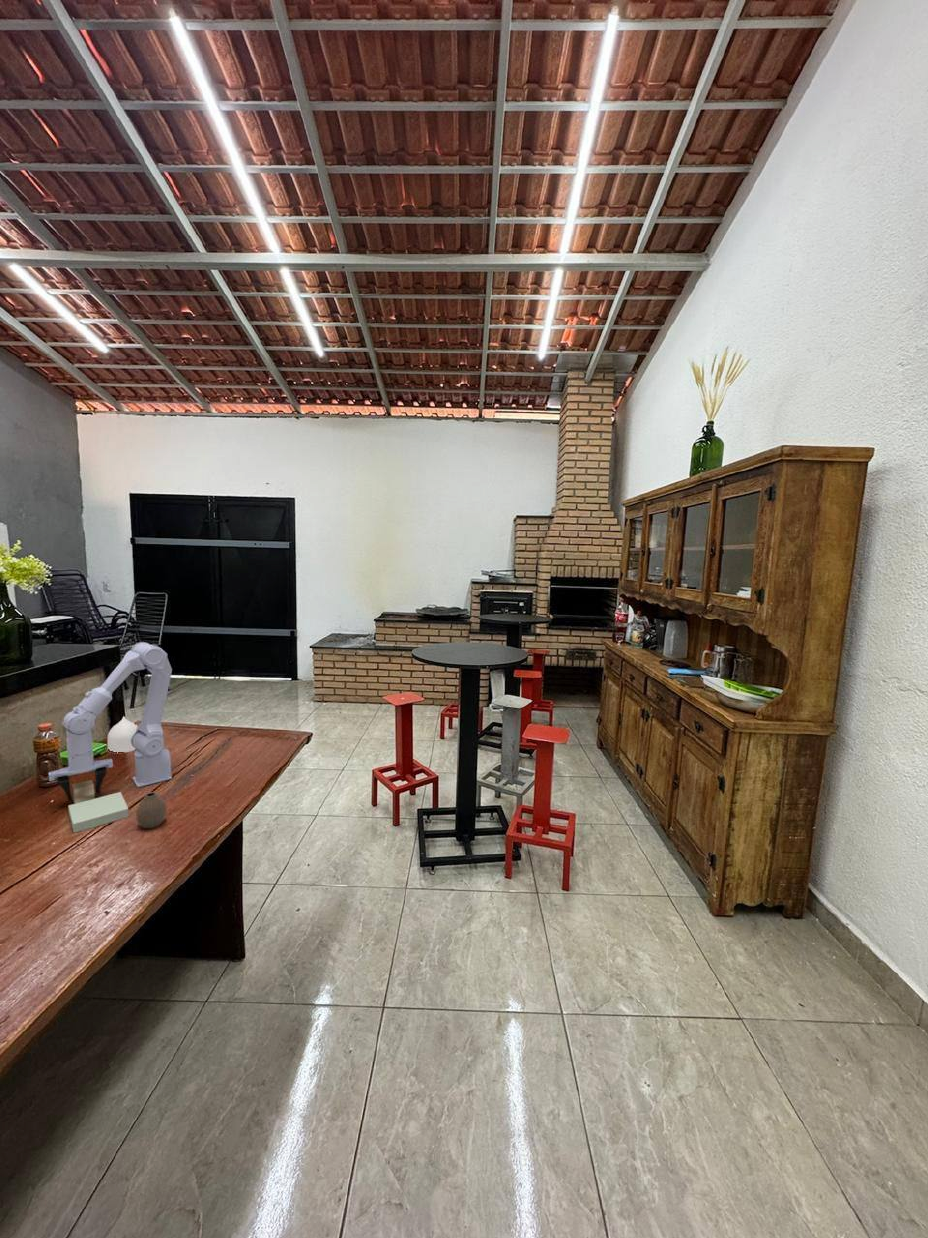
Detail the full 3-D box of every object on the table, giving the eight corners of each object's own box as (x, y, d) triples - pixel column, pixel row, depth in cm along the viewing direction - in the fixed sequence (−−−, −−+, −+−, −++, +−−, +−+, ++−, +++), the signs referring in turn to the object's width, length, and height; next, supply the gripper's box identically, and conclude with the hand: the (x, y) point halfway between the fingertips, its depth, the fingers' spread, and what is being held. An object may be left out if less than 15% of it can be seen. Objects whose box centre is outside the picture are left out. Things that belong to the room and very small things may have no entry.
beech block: (92, 795, 146) (91, 779, 145) (95, 801, 143) (93, 785, 142) (73, 800, 143) (72, 784, 142) (75, 806, 140) (74, 790, 139)
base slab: (121, 800, 144) (120, 792, 144) (128, 817, 135) (128, 808, 135) (69, 814, 136) (68, 805, 135) (73, 833, 127) (73, 824, 127)
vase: (173, 820, 134) (171, 790, 133) (149, 834, 128) (148, 803, 127) (154, 815, 137) (152, 786, 135) (130, 828, 130) (128, 797, 129)
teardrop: (150, 743, 184) (149, 713, 182) (122, 755, 173) (120, 723, 172) (129, 739, 187) (127, 709, 185) (99, 750, 177) (97, 718, 175)
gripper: (108, 741, 148) (111, 783, 150) (46, 754, 138) (50, 798, 140) (112, 749, 143) (115, 792, 145) (48, 762, 133) (52, 808, 135)
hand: (83, 796), depth 143 cm, fingers open, 6 cm apart
